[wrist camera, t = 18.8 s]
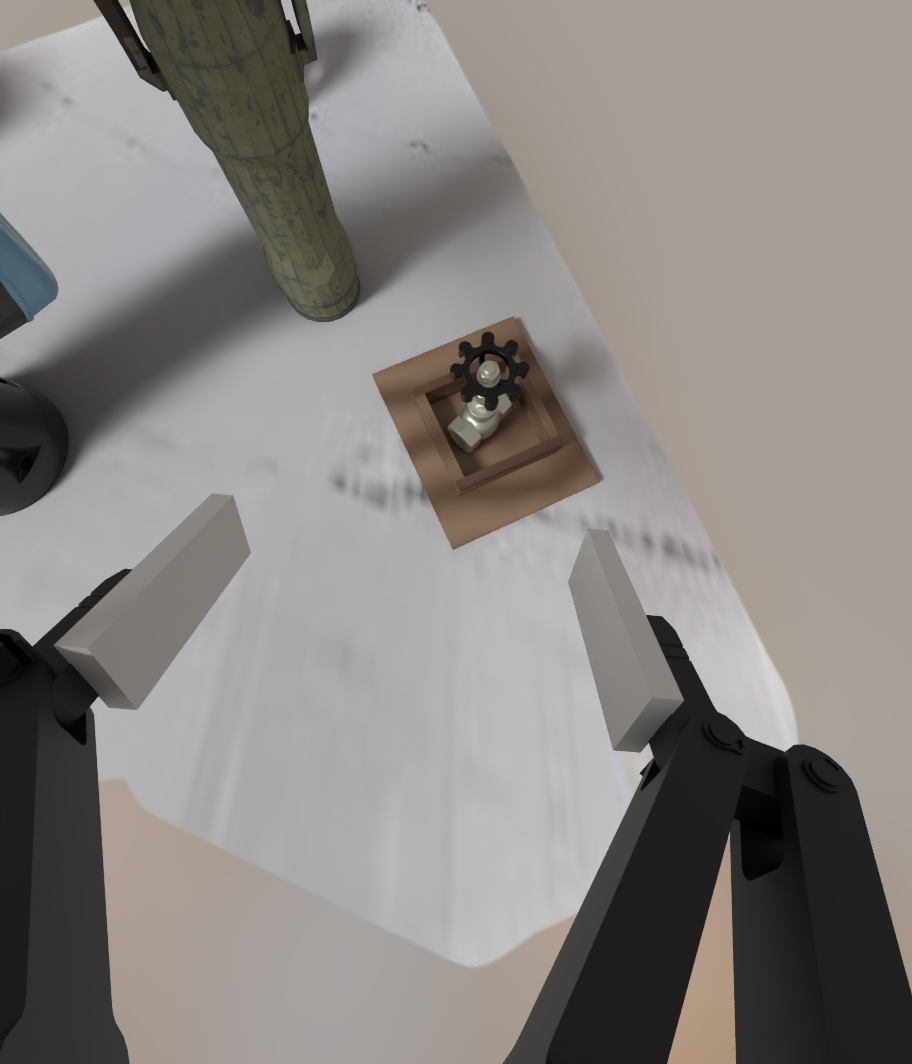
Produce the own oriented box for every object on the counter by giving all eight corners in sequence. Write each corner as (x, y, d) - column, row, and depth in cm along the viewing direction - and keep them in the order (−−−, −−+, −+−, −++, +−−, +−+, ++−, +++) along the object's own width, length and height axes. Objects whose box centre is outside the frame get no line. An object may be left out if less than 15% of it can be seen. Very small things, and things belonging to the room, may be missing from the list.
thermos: (264, 273, 46) (-273, -650, 12) (357, 243, 47) (116, -696, 13) (287, 337, 45) (-225, -465, 11) (382, 305, 46) (193, -531, 12)
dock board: (373, 378, 45) (366, 359, 41) (511, 322, 46) (518, 297, 42) (452, 549, 43) (453, 546, 39) (595, 484, 44) (610, 474, 40)
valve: (436, 428, 43) (433, 369, 31) (475, 388, 44) (486, 315, 32) (479, 466, 43) (493, 422, 31) (518, 425, 44) (546, 366, 32)
